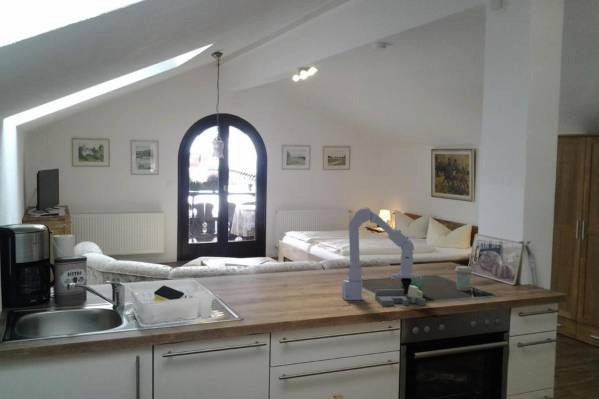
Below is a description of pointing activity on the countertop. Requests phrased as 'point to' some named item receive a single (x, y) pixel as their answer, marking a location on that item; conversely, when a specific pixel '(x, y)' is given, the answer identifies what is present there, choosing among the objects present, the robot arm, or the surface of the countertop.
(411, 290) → the cream block
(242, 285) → the countertop surface
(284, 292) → the countertop surface
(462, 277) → the coffee cup
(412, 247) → the robot arm
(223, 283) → the countertop surface
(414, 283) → the food container
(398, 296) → the trap board
